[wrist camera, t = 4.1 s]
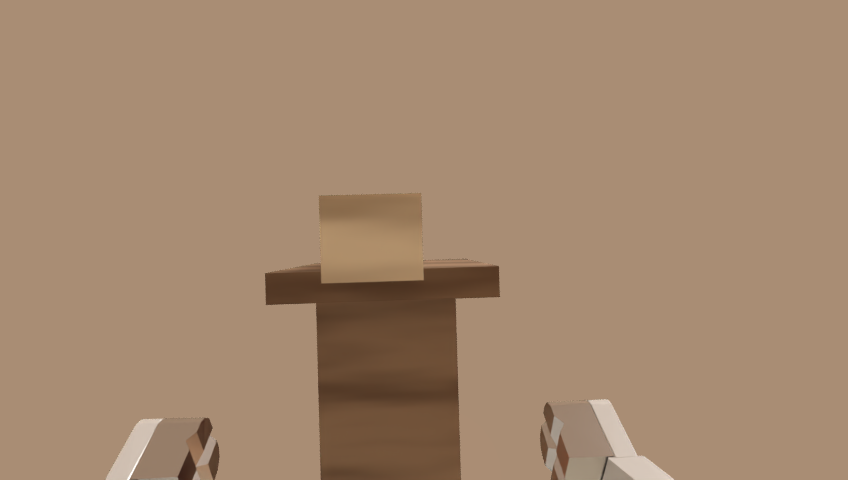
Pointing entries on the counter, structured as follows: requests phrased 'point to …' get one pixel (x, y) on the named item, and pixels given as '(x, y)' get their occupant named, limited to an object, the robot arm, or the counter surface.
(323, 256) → the maple bar
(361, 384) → the walnut pedestal
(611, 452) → the robot arm
